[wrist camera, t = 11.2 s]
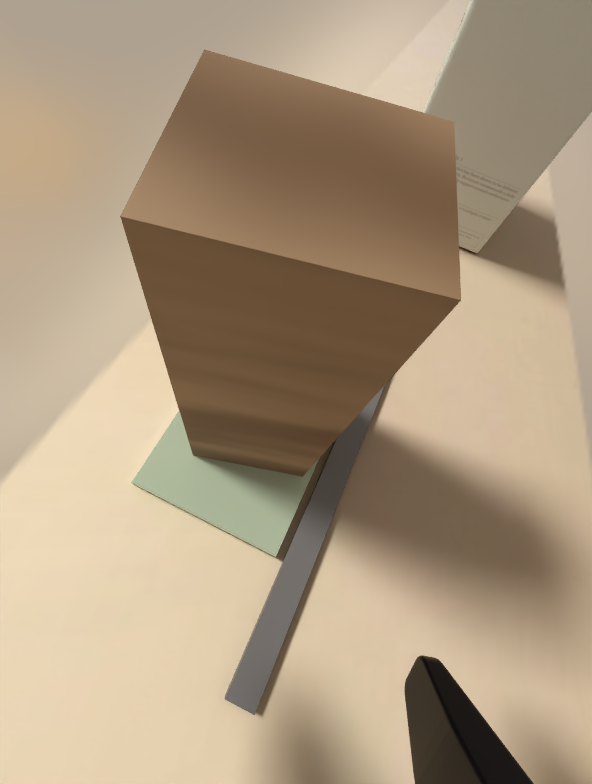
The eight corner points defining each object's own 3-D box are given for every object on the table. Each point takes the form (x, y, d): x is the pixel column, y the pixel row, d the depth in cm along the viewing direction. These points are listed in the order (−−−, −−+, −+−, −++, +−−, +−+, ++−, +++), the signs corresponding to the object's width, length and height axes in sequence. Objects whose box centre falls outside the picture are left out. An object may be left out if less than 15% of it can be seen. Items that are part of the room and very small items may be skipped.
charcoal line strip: (253, 711, 14) (254, 714, 14) (224, 696, 14) (224, 699, 14) (418, 296, 24) (421, 293, 23) (401, 287, 24) (403, 284, 23)
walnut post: (302, 476, 17) (460, 299, 6) (192, 455, 17) (120, 216, 5) (315, 389, 19) (454, 121, 8) (217, 367, 19) (203, 49, 7)
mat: (274, 556, 16) (275, 556, 16) (133, 484, 16) (131, 482, 16) (356, 373, 21) (358, 370, 20) (243, 318, 21) (243, 313, 20)
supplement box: (492, 192, 29) (664, -46, 18) (476, 258, 26) (674, 18, 14) (403, 154, 29) (517, -108, 18) (376, 214, 26) (494, -58, 15)
